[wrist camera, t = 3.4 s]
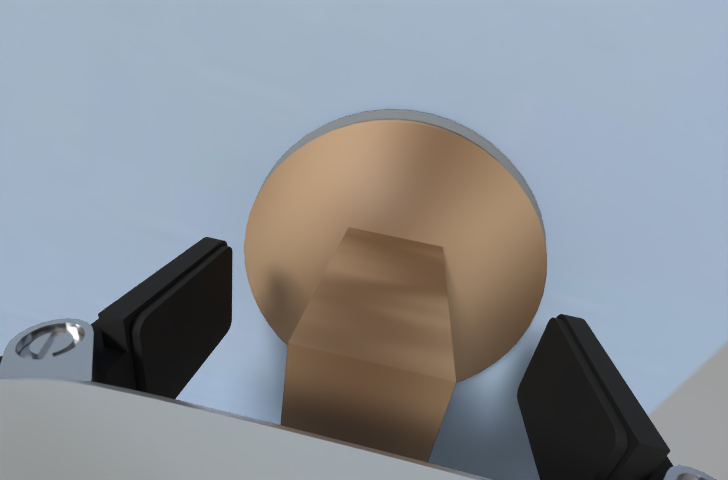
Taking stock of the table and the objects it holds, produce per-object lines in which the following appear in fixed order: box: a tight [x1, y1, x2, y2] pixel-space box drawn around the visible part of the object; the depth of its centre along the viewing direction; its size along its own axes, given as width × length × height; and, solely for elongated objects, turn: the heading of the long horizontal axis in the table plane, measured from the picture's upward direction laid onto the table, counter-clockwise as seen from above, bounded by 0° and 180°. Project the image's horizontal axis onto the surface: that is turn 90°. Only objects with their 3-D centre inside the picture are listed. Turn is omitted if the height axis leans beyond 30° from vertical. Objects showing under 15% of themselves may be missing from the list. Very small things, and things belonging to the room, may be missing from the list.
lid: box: [244, 119, 547, 462], centre depth 11 cm, size 10×10×7 cm
